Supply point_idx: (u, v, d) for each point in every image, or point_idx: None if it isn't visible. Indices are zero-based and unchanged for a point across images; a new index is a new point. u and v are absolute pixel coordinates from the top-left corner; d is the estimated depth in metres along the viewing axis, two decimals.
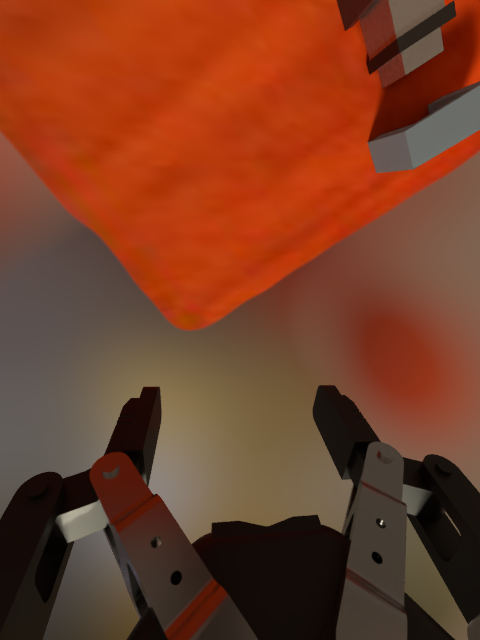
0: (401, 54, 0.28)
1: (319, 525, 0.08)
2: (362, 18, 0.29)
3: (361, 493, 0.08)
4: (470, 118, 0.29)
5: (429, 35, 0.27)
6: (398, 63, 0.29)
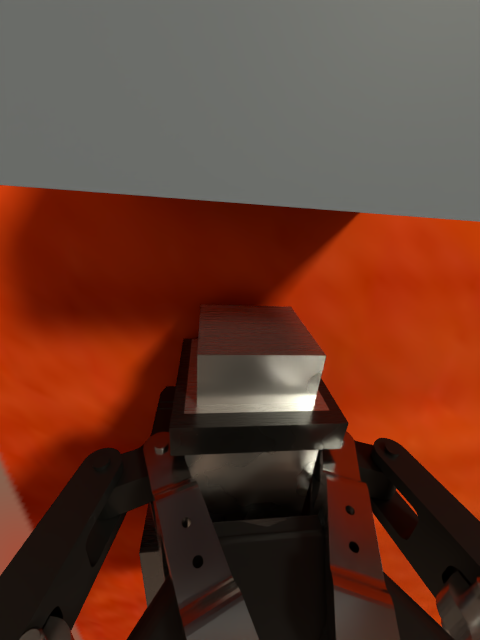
0: (313, 398, 0.10)
1: (319, 525, 0.08)
2: None
3: (327, 484, 0.08)
4: None
5: (231, 402, 0.09)
6: None
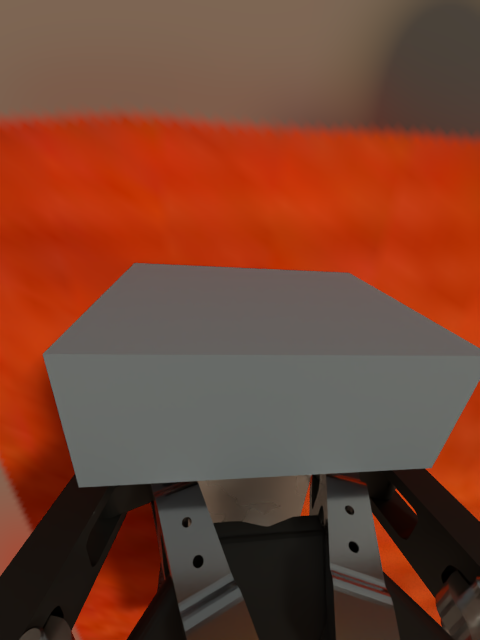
0: None
1: (319, 525, 0.08)
2: None
3: (327, 484, 0.08)
4: (207, 411, 0.06)
5: None
6: None
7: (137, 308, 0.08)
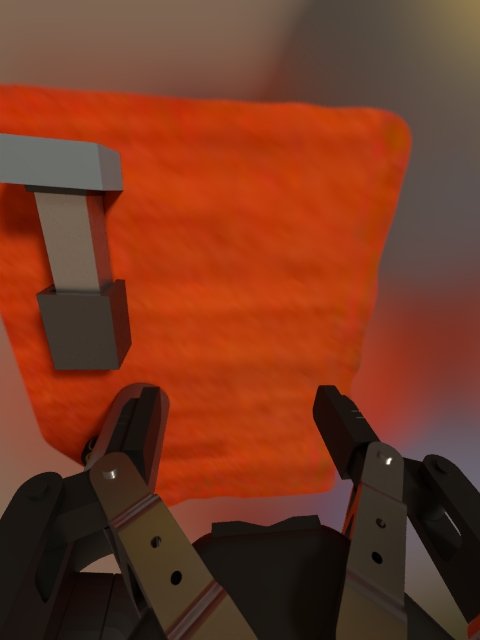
0: None
1: (319, 525, 0.08)
2: (104, 227, 0.34)
3: (361, 493, 0.08)
4: (21, 155, 0.25)
5: None
6: None
7: None
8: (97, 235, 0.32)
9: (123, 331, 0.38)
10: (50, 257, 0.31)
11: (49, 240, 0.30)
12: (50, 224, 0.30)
